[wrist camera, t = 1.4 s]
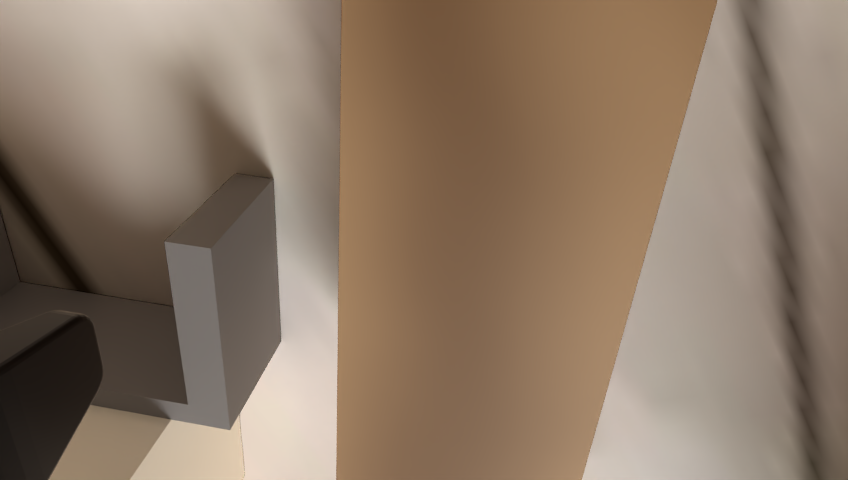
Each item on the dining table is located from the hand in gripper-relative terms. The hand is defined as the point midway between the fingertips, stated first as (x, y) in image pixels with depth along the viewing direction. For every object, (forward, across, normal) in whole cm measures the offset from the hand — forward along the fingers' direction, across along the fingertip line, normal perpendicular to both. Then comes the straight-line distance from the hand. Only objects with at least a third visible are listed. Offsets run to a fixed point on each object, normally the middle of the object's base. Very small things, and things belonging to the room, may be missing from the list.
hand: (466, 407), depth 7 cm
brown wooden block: (+9, 0, 0) cm, 9 cm away
